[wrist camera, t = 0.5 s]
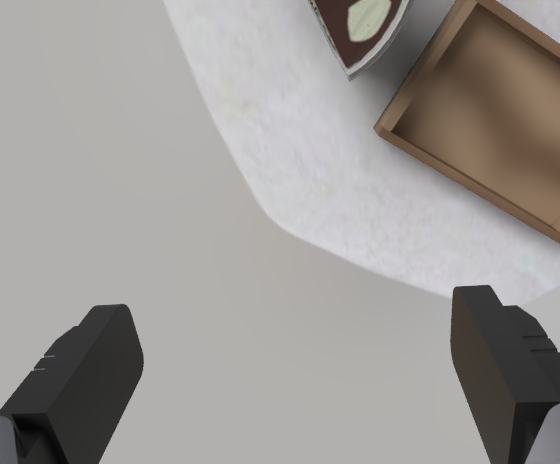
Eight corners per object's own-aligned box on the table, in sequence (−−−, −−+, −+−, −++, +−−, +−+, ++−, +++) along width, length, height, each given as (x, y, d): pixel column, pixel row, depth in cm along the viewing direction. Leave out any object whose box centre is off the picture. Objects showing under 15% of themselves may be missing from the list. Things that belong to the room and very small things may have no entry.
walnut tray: (463, -11, 30) (475, -14, 27) (651, 117, 32) (677, 124, 30) (373, 127, 34) (378, 135, 31) (547, 231, 36) (563, 245, 34)
